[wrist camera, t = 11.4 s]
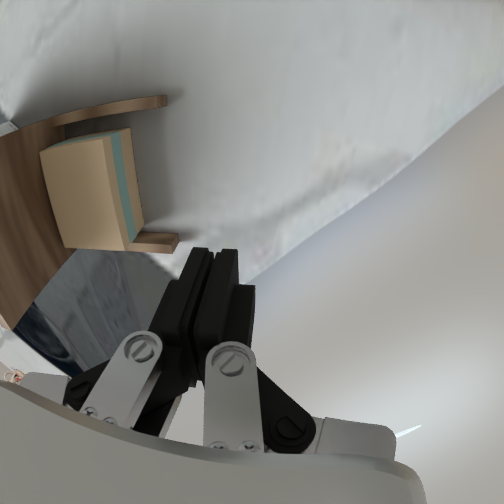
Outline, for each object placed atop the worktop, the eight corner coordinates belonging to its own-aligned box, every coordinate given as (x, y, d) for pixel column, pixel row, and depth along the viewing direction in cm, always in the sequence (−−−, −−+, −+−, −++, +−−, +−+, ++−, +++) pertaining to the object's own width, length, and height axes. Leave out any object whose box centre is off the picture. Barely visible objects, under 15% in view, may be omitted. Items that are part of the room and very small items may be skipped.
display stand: (166, 94, 24) (36, 127, 9) (178, 242, 34) (119, 366, 19) (52, 116, 25) (-64, 170, 10) (77, 237, 34) (2, 326, 20)
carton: (131, 126, 26) (102, 138, 21) (145, 224, 33) (125, 251, 28) (70, 137, 27) (38, 151, 22) (88, 223, 33) (64, 248, 28)
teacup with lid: (33, 380, 74) (22, 403, 65) (31, 384, 78) (21, 405, 69) (10, 362, 70) (-2, 383, 60) (9, 367, 74) (-2, 387, 64)
